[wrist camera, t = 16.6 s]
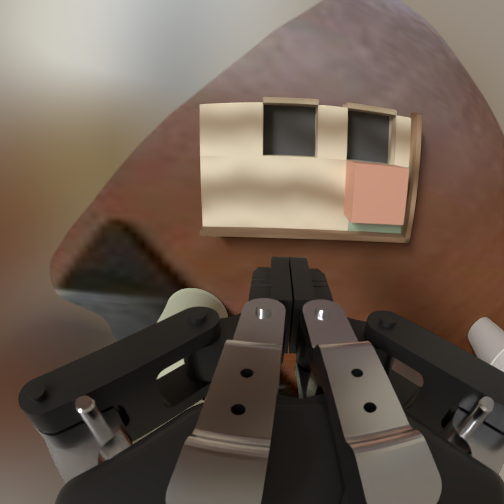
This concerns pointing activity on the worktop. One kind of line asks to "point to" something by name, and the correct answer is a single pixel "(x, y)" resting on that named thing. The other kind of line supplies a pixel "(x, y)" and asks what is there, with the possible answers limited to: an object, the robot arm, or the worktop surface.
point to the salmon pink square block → (375, 193)
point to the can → (188, 300)
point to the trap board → (298, 167)
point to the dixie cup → (488, 342)
